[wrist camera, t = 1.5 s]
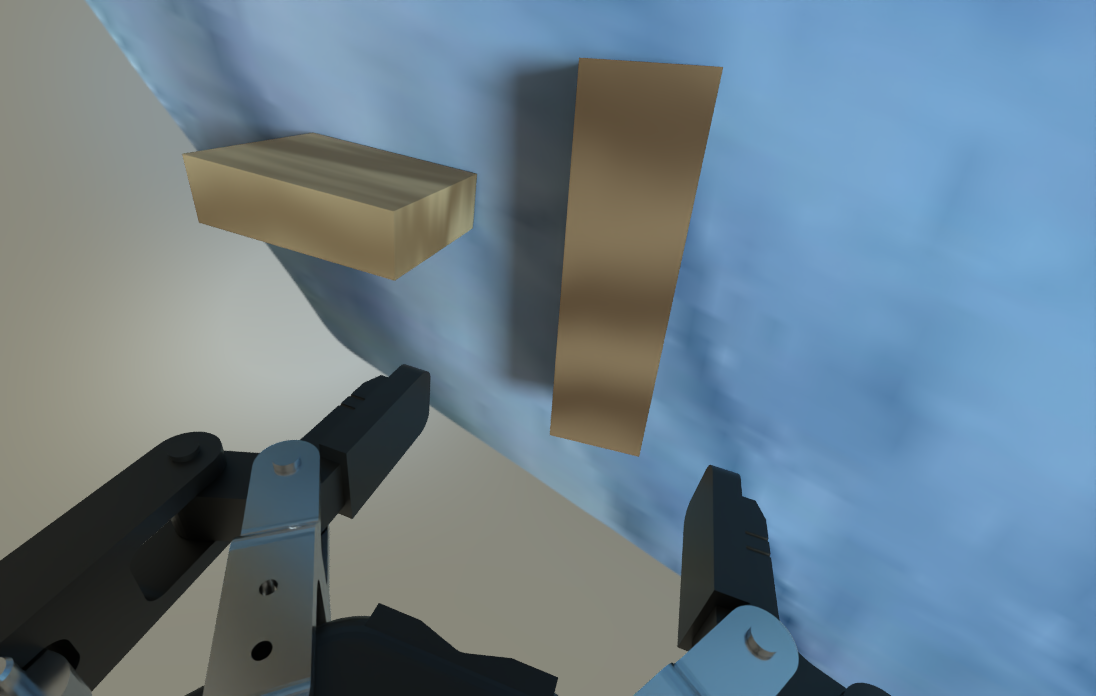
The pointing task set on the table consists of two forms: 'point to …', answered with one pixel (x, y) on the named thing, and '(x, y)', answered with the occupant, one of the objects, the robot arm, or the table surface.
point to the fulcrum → (334, 200)
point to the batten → (625, 239)
